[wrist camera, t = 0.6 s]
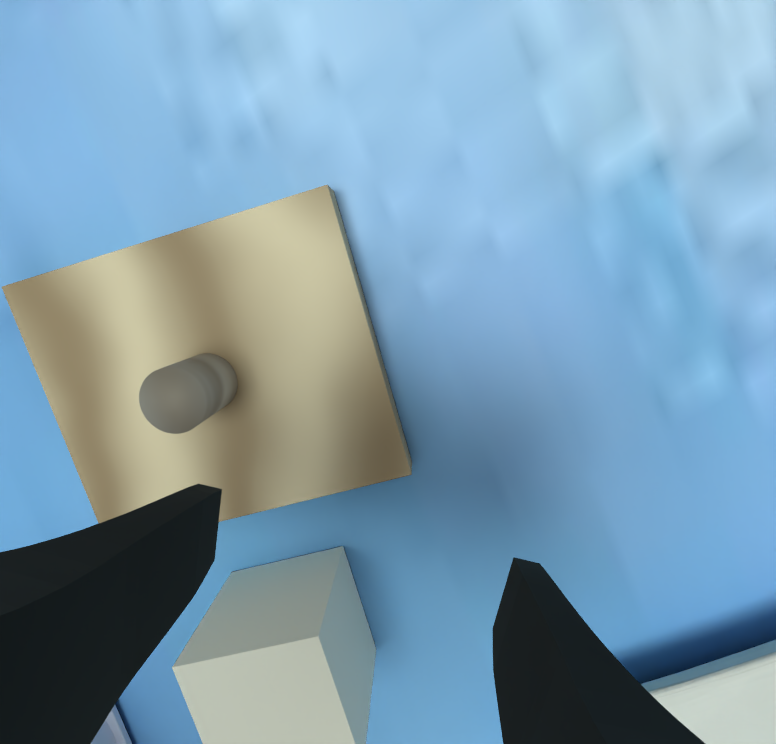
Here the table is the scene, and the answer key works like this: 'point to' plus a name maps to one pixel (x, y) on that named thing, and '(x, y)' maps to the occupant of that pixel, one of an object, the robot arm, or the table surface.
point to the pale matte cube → (282, 656)
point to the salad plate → (725, 697)
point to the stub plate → (251, 322)
